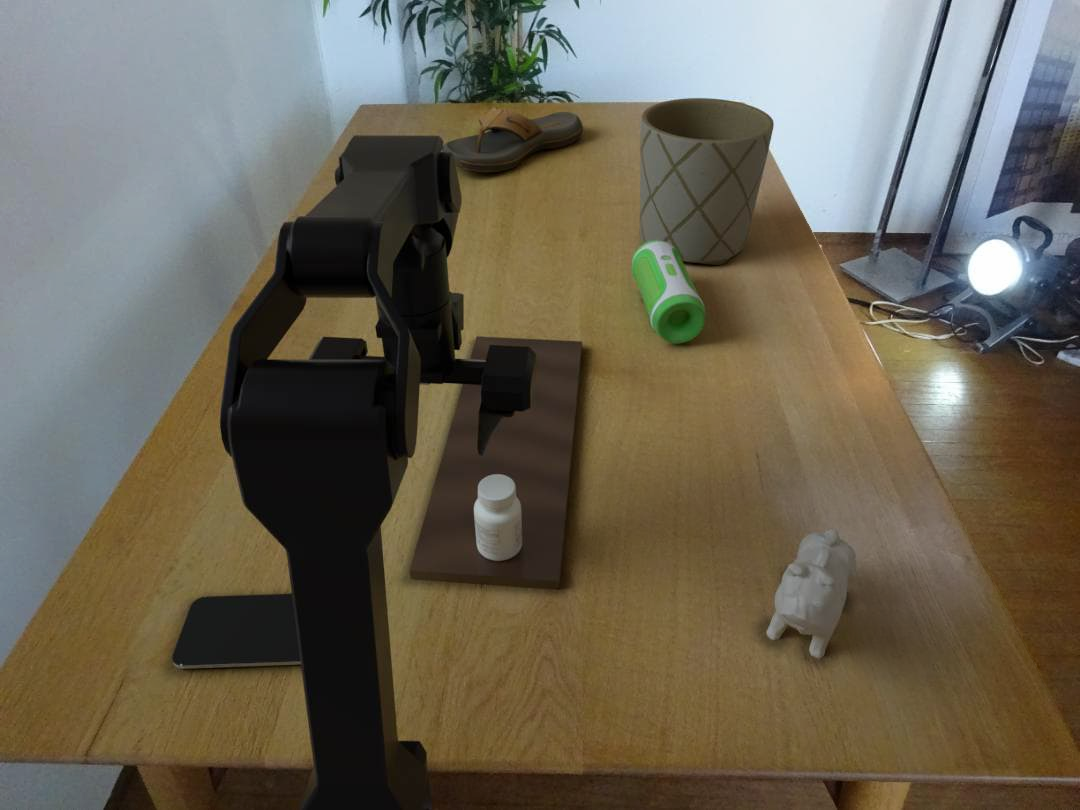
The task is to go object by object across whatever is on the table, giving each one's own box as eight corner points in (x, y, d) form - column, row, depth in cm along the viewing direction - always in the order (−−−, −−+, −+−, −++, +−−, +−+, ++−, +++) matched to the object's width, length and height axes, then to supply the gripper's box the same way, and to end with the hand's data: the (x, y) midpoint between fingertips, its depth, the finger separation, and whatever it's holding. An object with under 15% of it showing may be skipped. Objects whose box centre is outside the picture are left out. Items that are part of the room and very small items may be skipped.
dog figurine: (749, 668, 68) (770, 587, 61) (793, 566, 77) (815, 485, 70) (811, 697, 66) (840, 616, 59) (849, 588, 75) (878, 507, 68)
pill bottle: (511, 522, 80) (508, 464, 75) (529, 553, 77) (528, 494, 72) (469, 537, 78) (464, 478, 74) (487, 568, 75) (483, 509, 70)
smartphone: (348, 659, 68) (168, 665, 68) (349, 664, 68) (170, 670, 68) (359, 590, 74) (193, 595, 73) (360, 595, 74) (195, 600, 74)
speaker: (627, 283, 120) (630, 236, 115) (675, 280, 120) (680, 234, 116) (650, 349, 106) (655, 299, 101) (705, 346, 106) (712, 296, 102)
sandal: (422, 164, 157) (418, 115, 151) (557, 125, 174) (557, 80, 168) (464, 186, 148) (461, 135, 143) (601, 142, 165) (603, 96, 160)
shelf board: (558, 589, 75) (558, 581, 74) (410, 579, 76) (408, 570, 75) (581, 348, 106) (582, 341, 105) (476, 343, 107) (476, 336, 106)
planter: (739, 280, 120) (761, 149, 108) (617, 258, 126) (625, 131, 113) (761, 227, 134) (783, 105, 122) (650, 210, 140) (660, 92, 127)
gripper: (542, 253, 68) (542, 399, 78) (327, 245, 70) (353, 389, 79) (528, 324, 59) (530, 479, 69) (282, 312, 61) (318, 466, 70)
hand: (430, 449), depth 72 cm, fingers open, 9 cm apart
